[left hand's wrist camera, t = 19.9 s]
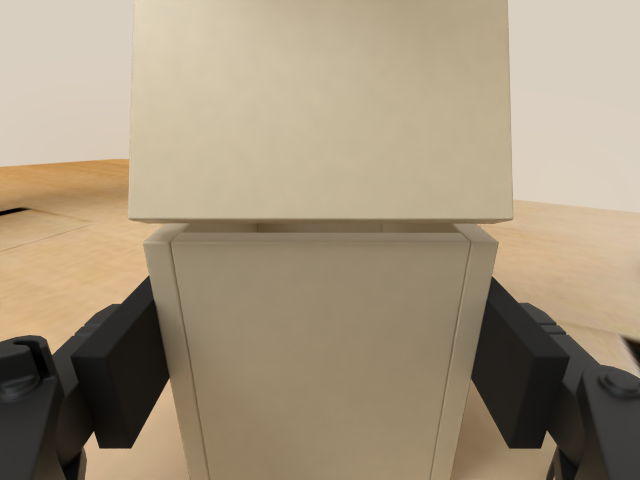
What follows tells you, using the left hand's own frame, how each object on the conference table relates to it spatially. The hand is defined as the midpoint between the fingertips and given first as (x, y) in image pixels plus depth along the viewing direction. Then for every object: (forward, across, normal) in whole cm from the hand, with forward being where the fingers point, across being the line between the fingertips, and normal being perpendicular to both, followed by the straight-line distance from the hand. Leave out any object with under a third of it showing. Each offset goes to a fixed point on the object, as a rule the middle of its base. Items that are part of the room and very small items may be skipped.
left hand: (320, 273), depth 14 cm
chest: (+2, 0, -7) cm, 7 cm away
